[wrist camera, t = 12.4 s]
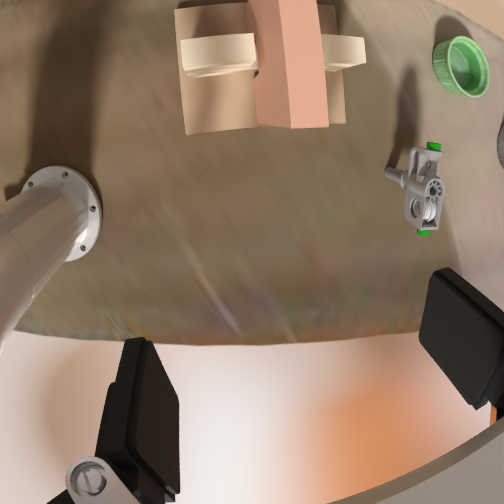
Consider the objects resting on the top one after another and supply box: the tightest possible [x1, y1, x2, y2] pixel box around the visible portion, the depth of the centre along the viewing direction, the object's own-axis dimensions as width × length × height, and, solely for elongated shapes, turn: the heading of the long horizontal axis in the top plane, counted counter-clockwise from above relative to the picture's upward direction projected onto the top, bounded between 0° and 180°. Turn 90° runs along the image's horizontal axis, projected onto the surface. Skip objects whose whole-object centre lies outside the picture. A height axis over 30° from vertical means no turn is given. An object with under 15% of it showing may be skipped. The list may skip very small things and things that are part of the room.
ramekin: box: [433, 36, 490, 97], centre depth 30 cm, size 9×9×4 cm
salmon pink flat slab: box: [246, 0, 329, 129], centre depth 22 cm, size 14×2×15 cm, turn 5°
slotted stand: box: [174, 2, 366, 135], centre depth 26 cm, size 18×15×10 cm
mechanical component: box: [385, 142, 445, 236], centre depth 33 cm, size 3×10×10 cm, turn 1°
